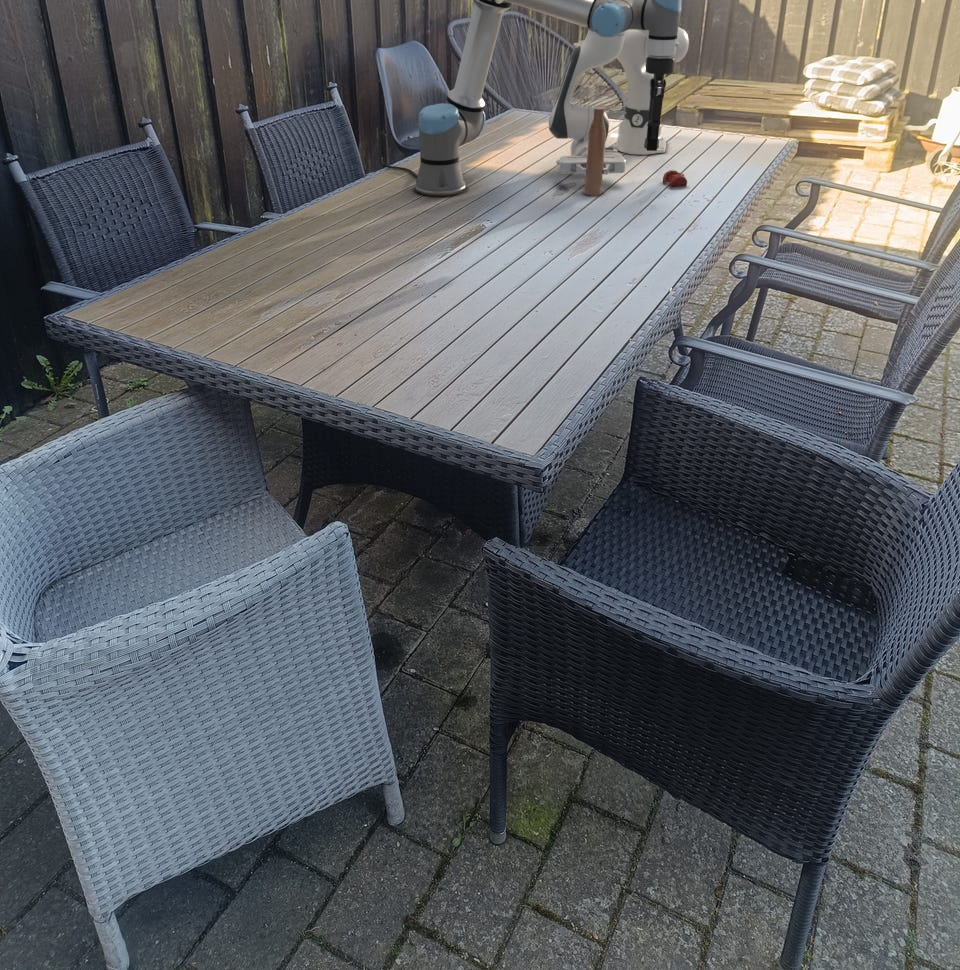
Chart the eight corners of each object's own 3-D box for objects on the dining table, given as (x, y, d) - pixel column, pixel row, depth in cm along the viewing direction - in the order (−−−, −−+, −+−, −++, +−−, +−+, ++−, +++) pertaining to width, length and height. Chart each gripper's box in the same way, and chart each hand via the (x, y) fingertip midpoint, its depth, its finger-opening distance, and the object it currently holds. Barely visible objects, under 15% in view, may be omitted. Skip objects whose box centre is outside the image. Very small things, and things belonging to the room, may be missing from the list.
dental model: (678, 166, 263) (689, 173, 257) (677, 180, 266) (688, 187, 260) (661, 168, 262) (672, 175, 256) (660, 182, 265) (671, 189, 259)
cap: (658, 149, 235) (659, 140, 234) (643, 149, 236) (644, 140, 235) (659, 146, 238) (660, 137, 237) (644, 145, 239) (645, 136, 238)
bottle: (588, 196, 253) (595, 110, 239) (581, 191, 257) (587, 107, 243) (604, 194, 254) (611, 109, 240) (596, 190, 258) (603, 105, 244)
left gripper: (677, 61, 217) (666, 156, 230) (672, 51, 230) (662, 141, 244) (648, 61, 217) (638, 155, 231) (645, 51, 231) (636, 140, 245)
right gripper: (555, 149, 260) (560, 161, 249) (621, 148, 261) (629, 160, 250) (554, 170, 264) (559, 183, 253) (619, 169, 264) (627, 182, 253)
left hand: (651, 148), depth 237 cm, fingers closed on cap, 4 cm apart
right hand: (594, 171), depth 251 cm, fingers closed on bottle, 5 cm apart
